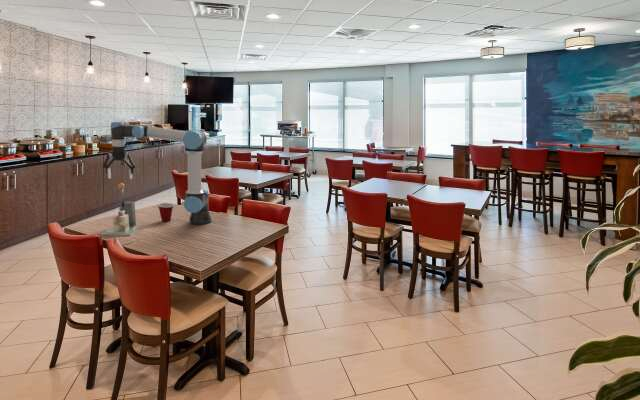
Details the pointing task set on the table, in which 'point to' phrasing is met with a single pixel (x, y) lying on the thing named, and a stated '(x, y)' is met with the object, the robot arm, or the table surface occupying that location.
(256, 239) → the table surface
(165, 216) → the plastic cup
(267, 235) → the table surface
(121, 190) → the press lever
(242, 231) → the table surface
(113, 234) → the press
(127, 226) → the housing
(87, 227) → the table surface
